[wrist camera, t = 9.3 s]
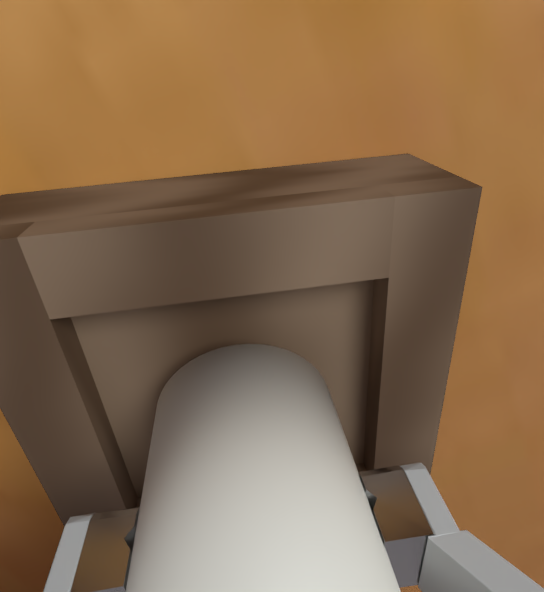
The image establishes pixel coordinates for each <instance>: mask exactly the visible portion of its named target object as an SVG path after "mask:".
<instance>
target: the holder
mask: <svg viewBox="0 0 544 592" xmlns="http://www.w3.org/2000/svg"><path fill="white" fill-rule="evenodd" d="M481 191H482V187H481V186H479V185H477V184H474V183H472V182H470V181H468V180H466V179H463V178H461V177H459V176H457V175H455V174H452V173H450V172H448V171H446V170H443V169H441V168H439V167H437V166H435V165H432V164H430V163H428V162H426V161H424V160H421V159H419V158H417V157H415V156H412V155H410V154H401V155H391V156H381V157H371V158H361V159H351V160H341V161H332V162H322V163H312V164H302V165H292V166H282V167H272V168H262V169H253V170H243V171H233V172H223V173H213V174H203V175H193V176H183V177H174V178H164V179H154V180H144V181H134V182H124V183H114V184H105V185H95V186H85V187H75V188H65V189H55V190H45V191H35V192H26V193H16V194H6V195H1V196H0V408H1V410H2V412H3V414H4V416H5V418H6V419H7V421H8V423H9V425H10V427H11V429H12V431H13V432H14V434H15V436H16V438H17V440H18V442H19V443H20V445H21V447H22V449H23V451H24V453H25V455H26V456H27V458H28V460H29V462H30V464H31V466H32V467H33V469H34V471H35V473H36V475H37V477H38V478H39V480H40V482H41V484H42V486H43V488H44V490H45V491H46V493H47V495H48V497H49V499H50V501H51V502H52V504H53V506H54V508H55V510H56V512H57V514H58V515H59V517H60V519H61V521H62V523H63V525H64V526H65V525H66V523H67V522H68V520H69V518H70V517H73V516H80V515H86V514H92V513H101V512H108V511H115V510H122V509H129V508H136V507H140V503H141V497H142V491H143V485H144V479H145V473H146V467H147V461H148V455H149V450H150V444H151V438H152V432H153V426H154V420H155V414H156V408H157V402H158V399H159V396H160V394H161V392H162V390H163V388H164V386H165V384H166V383H167V382H168V381H169V379H170V378H171V377H172V376H173V375H174V374H175V373H176V372H177V371H178V370H179V369H180V368H181V367H183V366H184V365H185V364H187V363H188V362H189V361H191V360H193V359H195V358H196V357H198V356H200V355H202V354H205V353H207V352H209V351H212V350H215V349H219V348H222V347H227V346H232V345H241V344H262V345H269V346H275V347H278V348H282V349H285V350H288V351H290V352H293V353H295V354H297V355H299V356H301V357H302V358H304V359H305V360H307V361H308V362H309V363H311V364H312V365H313V366H314V367H315V368H316V369H317V370H318V371H319V372H320V374H321V375H322V377H323V378H324V380H325V382H326V384H327V386H328V389H329V392H330V395H331V397H332V400H333V403H334V406H335V409H336V411H337V414H338V417H339V420H340V423H341V425H342V428H343V431H344V434H345V437H346V439H347V442H348V445H349V448H350V451H351V453H352V456H353V459H354V462H355V465H356V468H357V470H358V472H362V471H368V470H374V469H379V468H385V467H391V466H397V465H398V466H401V465H407V464H412V463H418V462H419V463H422V464H423V465H424V466H425V467H426V469H427V470H428V472H429V474H430V473H431V467H432V462H433V456H434V451H435V445H436V440H437V434H438V429H439V423H440V418H441V412H442V407H443V401H444V395H445V390H446V384H447V379H448V373H449V368H450V362H451V357H452V351H453V346H454V340H455V335H456V329H457V324H458V318H459V313H460V307H461V302H462V296H463V291H464V285H465V279H466V274H467V268H468V263H469V257H470V252H471V246H472V241H473V235H474V230H475V224H476V219H477V213H478V208H479V202H480V197H481Z"/></svg>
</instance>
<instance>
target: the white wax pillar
mask: <svg viewBox="0 0 544 592" xmlns="http://www.w3.org/2000/svg"><path fill="white" fill-rule="evenodd" d="M126 592H401V591H400V588H399V585H398V582H397V580H396V577H395V574H394V571H393V568H392V566H391V563H390V560H389V557H388V554H387V552H386V549H385V547H384V544H383V541H382V538H381V535H380V533H379V530H378V527H377V524H376V521H375V519H374V516H373V512H372V510H371V507H370V504H369V501H368V498H367V496H366V493H365V491H364V488H363V485H362V482H361V479H360V476H359V474H358V470H357V468H356V465H355V462H354V459H353V456H352V453H351V451H350V448H349V445H348V442H347V439H346V437H345V434H344V431H343V428H342V425H341V423H340V420H339V417H338V414H337V411H336V409H335V406H334V403H333V400H332V397H331V395H330V392H329V389H328V386H327V384H326V382H325V380H324V378H323V377H322V375H321V374H320V372H319V371H318V370H317V369H316V368H315V367H314V366H313V365H312V364H311V363H309V362H308V361H307V360H305V359H304V358H302V357H301V356H299V355H297V354H295V353H293V352H290V351H288V350H285V349H282V348H278V347H275V346H269V345H262V344H241V345H232V346H227V347H222V348H219V349H215V350H212V351H209V352H207V353H205V354H202V355H200V356H198V357H196V358H195V359H193V360H191V361H189V362H188V363H187V364H185V365H184V366H183V367H181V368H180V369H179V370H178V371H177V372H176V373H175V374H174V375H173V376H172V377H171V378H170V379H169V381H168V382H167V383H166V384H165V386H164V388H163V390H162V392H161V394H160V396H159V399H158V402H157V408H156V414H155V420H154V426H153V432H152V438H151V444H150V450H149V455H148V461H147V467H146V473H145V479H144V485H143V491H142V497H141V503H140V509H139V515H138V521H137V527H136V533H135V539H134V545H133V551H132V557H131V563H130V568H129V574H128V580H127V586H126Z"/></svg>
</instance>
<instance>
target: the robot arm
mask: <svg viewBox="0 0 544 592" xmlns="http://www.w3.org/2000/svg"><path fill="white" fill-rule="evenodd" d="M358 474H359V476H360V479H361V482H362V485H363V488H364V491H365V493H366V496H367V498H368V501H369V504H370V507H371V510H372V512H373V516H374V519H375V521H376V524H377V527H378V530H379V533H380V535H381V538H382V541H383V544H384V547H385V549H386V552H387V554H388V557H389V560H390V563H391V566H392V568H393V571H394V574H395V577H396V580H397V582H398V585H399V587H406V586H413V585H418V588H419V589H420V590H421V591H422V592H544V588H542V587H541V586H540V585H538V584H537V583H536V582H534V581H533V580H532V579H530V578H529V577H528V576H526V575H525V574H524V573H522V572H521V571H520V570H519V569H517V568H516V567H515V566H513V565H512V564H511V563H509V562H508V561H507V560H505V559H504V558H503V557H501V556H500V555H499V554H497V553H496V552H495V551H494V550H492V549H491V548H490V547H488V546H487V545H486V544H484V543H483V542H482V541H480V540H479V539H478V538H476V537H475V536H474V535H472V534H471V533H470V532H468V531H467V530H462V531H460V530H459V528H458V526H457V525H456V523H455V521H454V519H453V517H452V515H451V513H450V512H449V510H448V508H447V506H446V504H445V502H444V500H443V498H442V497H441V495H440V493H439V491H438V489H437V487H436V485H435V483H434V482H433V480H432V478H431V476H430V474H429V472H428V470H427V469H426V467H425V466H424V465H423V464H422V463H419V462H418V463H412V464H407V465H401V466H398V465H397V466H391V467H385V468H379V469H374V470H368V471H362V472H358ZM139 509H140V507H136V508H129V509H122V510H115V511H108V512H101V513H92V514H86V515H80V516H73V517H70V518H69V520H68V522H67V523H66V525H65V526H64V530H63V533H62V536H61V539H60V542H59V545H58V548H57V551H56V554H55V557H54V560H53V563H52V566H51V569H50V572H49V575H48V578H47V581H46V584H45V587H44V590H43V592H126V586H127V580H128V574H129V568H130V563H131V557H132V551H133V545H134V539H135V533H136V527H137V521H138V515H139Z"/></svg>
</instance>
